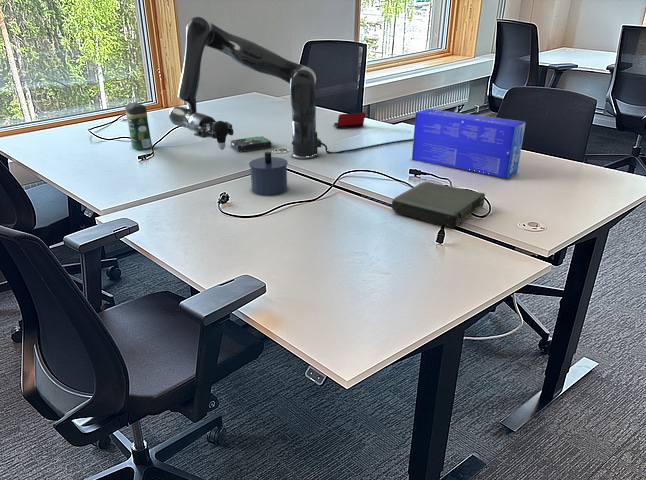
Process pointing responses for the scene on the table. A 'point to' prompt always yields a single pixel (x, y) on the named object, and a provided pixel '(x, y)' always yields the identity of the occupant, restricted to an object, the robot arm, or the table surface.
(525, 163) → the table surface
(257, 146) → the disk drive
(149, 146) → the coffee jar
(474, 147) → the blue cardboard box
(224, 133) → the light bulb
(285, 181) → the pot
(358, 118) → the handheld console
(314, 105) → the robot arm
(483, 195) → the network switch
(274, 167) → the pot lid
